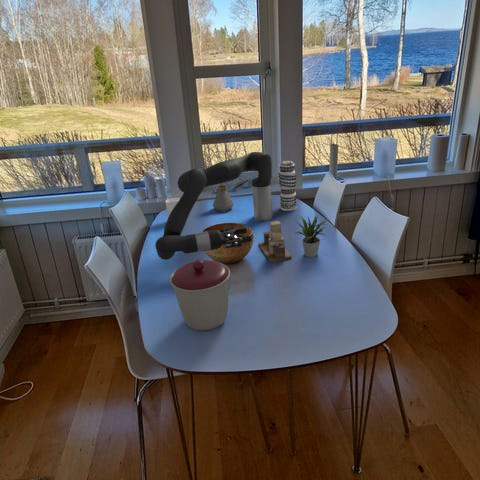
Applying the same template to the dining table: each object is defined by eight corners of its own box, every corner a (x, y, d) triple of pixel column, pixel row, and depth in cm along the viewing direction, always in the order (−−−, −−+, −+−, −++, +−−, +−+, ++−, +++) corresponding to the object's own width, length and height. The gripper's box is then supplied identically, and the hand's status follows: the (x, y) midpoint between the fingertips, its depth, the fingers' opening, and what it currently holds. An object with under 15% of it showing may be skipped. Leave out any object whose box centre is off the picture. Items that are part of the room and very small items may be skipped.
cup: (184, 224, 206) (181, 202, 201) (167, 225, 207) (163, 203, 202) (187, 218, 214) (184, 196, 210) (170, 219, 215) (166, 197, 210)
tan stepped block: (269, 251, 165) (267, 222, 160) (282, 248, 166) (281, 220, 161) (271, 254, 162) (269, 225, 157) (284, 251, 163) (283, 223, 158)
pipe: (266, 237, 174) (266, 232, 173) (271, 236, 174) (270, 231, 174) (277, 252, 160) (276, 247, 159) (282, 251, 160) (282, 246, 159)
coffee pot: (214, 214, 217) (210, 187, 210) (212, 207, 227) (209, 181, 221) (253, 209, 218) (251, 182, 212) (250, 202, 229) (248, 177, 223)
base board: (258, 244, 176) (257, 233, 174) (278, 241, 177) (277, 229, 175) (269, 262, 160) (269, 249, 157) (291, 258, 161) (291, 246, 159)
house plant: (330, 263, 154) (330, 224, 148) (293, 263, 157) (292, 224, 151) (330, 247, 167) (330, 210, 160) (296, 247, 170) (295, 211, 163)
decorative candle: (276, 207, 217) (274, 161, 207) (291, 204, 221) (289, 158, 211) (285, 212, 210) (283, 164, 200) (300, 208, 213) (299, 161, 203)
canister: (182, 344, 117) (171, 281, 109) (174, 312, 133) (163, 254, 125) (242, 329, 121) (235, 267, 113) (226, 299, 137) (220, 243, 129)
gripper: (209, 239, 148) (252, 232, 151) (204, 225, 161) (244, 219, 164) (211, 257, 151) (253, 250, 154) (206, 242, 164) (245, 236, 167)
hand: (248, 234), depth 159 cm, fingers open, 8 cm apart
